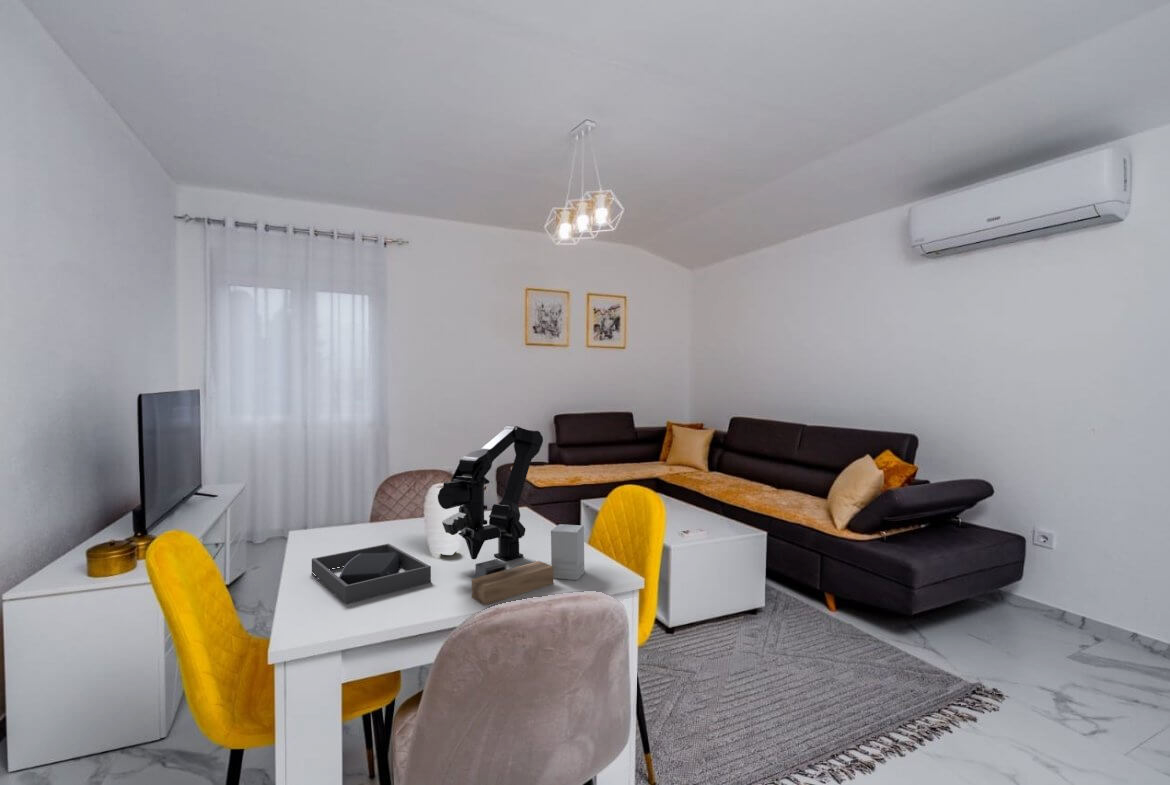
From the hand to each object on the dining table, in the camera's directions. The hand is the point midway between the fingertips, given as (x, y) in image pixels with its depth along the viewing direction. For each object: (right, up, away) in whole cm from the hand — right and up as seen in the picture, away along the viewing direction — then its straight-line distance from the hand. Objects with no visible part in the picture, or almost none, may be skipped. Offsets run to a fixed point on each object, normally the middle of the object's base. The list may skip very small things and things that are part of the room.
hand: (473, 559), depth 145 cm
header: (+11, -3, -13) cm, 17 cm away
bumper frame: (-27, -3, -5) cm, 27 cm away
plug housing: (+6, -3, -7) cm, 9 cm away
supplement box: (+26, -3, -4) cm, 26 cm away
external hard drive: (-27, -3, -5) cm, 27 cm away
